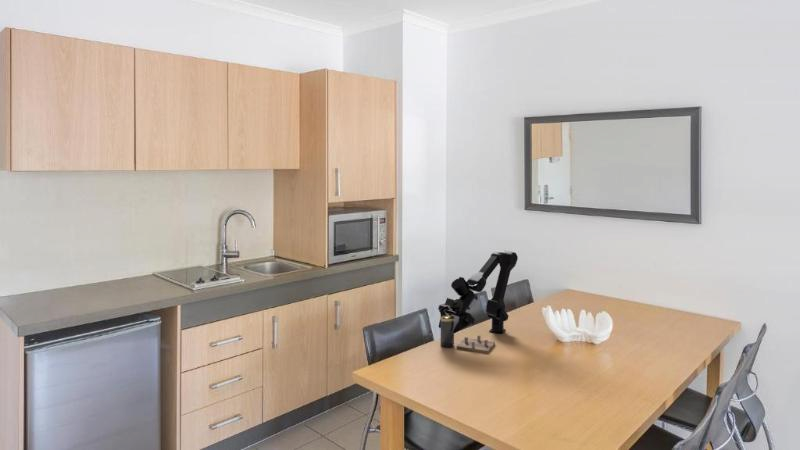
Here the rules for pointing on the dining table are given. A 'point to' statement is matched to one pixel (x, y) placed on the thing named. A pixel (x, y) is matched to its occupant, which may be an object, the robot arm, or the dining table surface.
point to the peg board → (476, 345)
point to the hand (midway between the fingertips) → (446, 330)
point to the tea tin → (447, 331)
